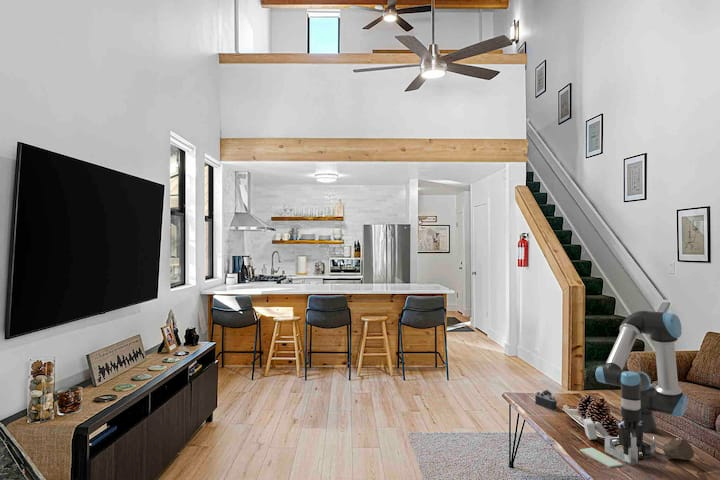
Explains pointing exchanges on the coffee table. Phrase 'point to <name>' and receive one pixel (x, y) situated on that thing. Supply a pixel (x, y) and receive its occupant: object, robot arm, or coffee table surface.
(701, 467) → the coffee table surface
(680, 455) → the rock
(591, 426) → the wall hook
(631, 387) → the robot arm
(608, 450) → the white slotted block
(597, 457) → the pad
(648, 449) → the vise
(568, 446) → the coffee table surface
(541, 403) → the camera
